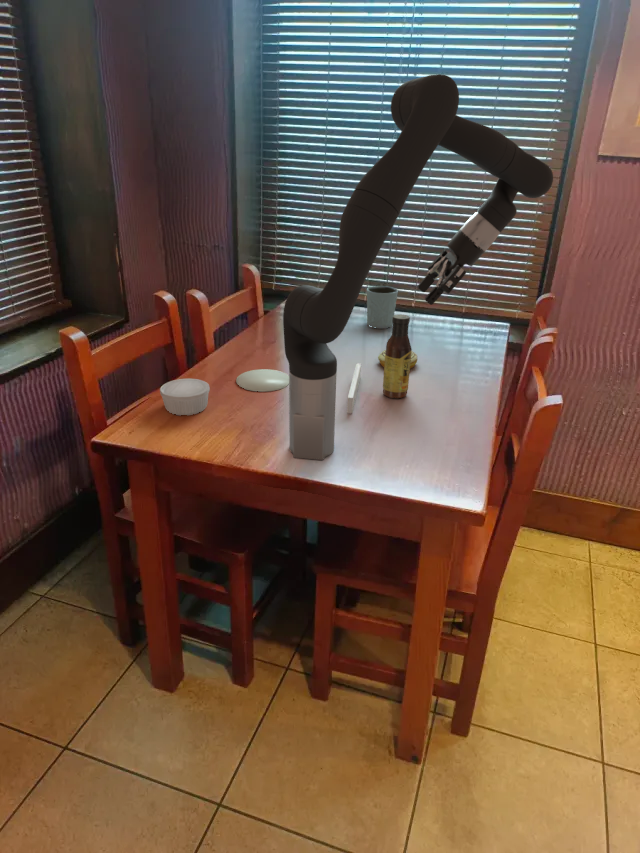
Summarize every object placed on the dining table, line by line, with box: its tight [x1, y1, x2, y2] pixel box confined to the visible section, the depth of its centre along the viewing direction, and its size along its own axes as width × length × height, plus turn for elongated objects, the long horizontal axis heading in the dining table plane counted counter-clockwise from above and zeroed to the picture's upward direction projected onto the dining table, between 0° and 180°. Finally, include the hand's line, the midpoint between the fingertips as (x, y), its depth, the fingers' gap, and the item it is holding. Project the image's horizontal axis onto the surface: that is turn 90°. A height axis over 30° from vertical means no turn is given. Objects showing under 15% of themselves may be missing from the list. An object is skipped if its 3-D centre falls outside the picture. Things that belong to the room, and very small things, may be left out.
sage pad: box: [236, 368, 289, 393], centre depth 155 cm, size 14×14×1 cm
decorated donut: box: [377, 349, 418, 369], centre depth 167 cm, size 10×11×4 cm
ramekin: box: [159, 378, 211, 416], centre depth 139 cm, size 11×11×5 cm
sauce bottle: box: [382, 314, 413, 400], centre depth 144 cm, size 6×6×20 cm
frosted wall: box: [346, 362, 362, 415], centre depth 147 cm, size 22×1×4 cm, turn 172°
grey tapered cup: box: [366, 285, 399, 329], centre depth 196 cm, size 10×10×12 cm
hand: (424, 295), depth 139 cm, fingers open, 8 cm apart
